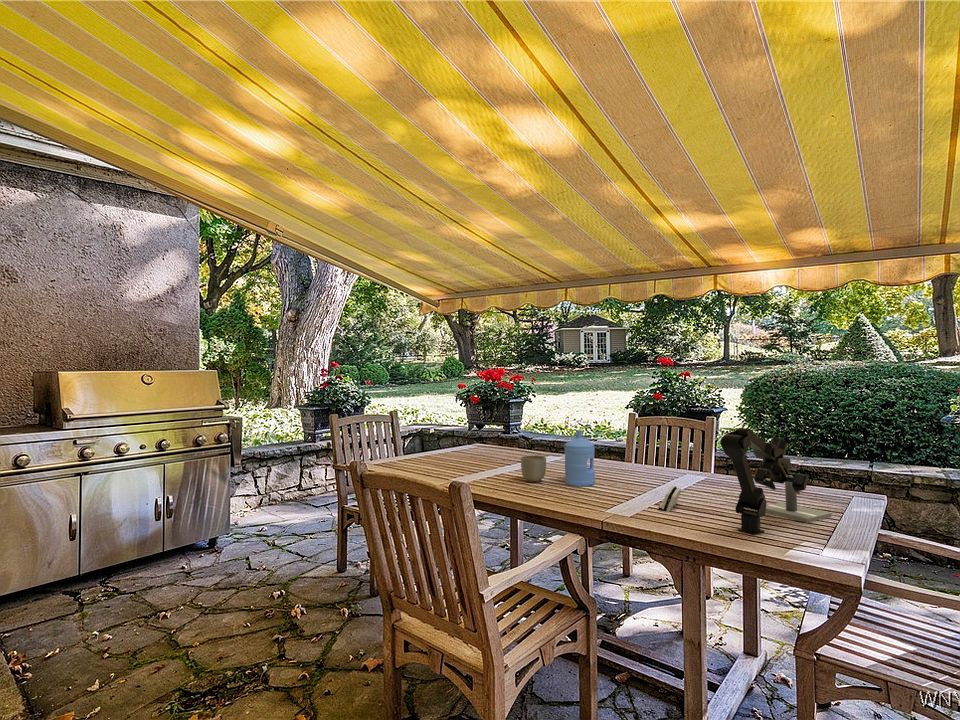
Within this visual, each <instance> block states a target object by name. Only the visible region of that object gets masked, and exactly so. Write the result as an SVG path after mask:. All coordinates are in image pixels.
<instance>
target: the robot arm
mask: <svg viewBox="0 0 960 720" xmlns="http://www.w3.org/2000/svg"><path fill="white" fill-rule="evenodd" d="M719 441H720V446H721V448H722V450H723V453H724V454H725V455H726V456H727V457H728V458H730V459H731V463H732V465H733V468H734V471H735V474H736V478H737V480H738V483H739V486H740V490H741V491H740V493H739V494H738V500H737V503H736V505H735V513H736V514H740V517H741V518H740V519H741V520H740V521H741V522H740V523H741V524H740V525H741V526H740V527H739V528H737V531H739V532H744V533H747V534H751V535H757V534H760V533H761V534H762V533H764V532H765V530H763V529H761V518H762V517H764V516H766V513H767V512H766V505H768V504H767V500H766V495H765V494H764V490H763V488H762V487H757V485H756V484H759V485H760V486H761V485H762V486H764V487H766V488H768V489H770V490H772V491H776V485H775V483H776V484H784V485H785V481H786V482H792V487H793V488H794V489H793V490H794V491H795V492H796V493H797V494H798V495H801V491H806V489H807V485H808V482H809V477H808V475H807V474H803V473H795V475H794V476H793V475H789V474H790V471H789V470H790V468H791V467H792V462H791V459H790V457H784V456H785V454H786V451H787V449H788V442H787V441H785V440H783V439H781V438H780V437H777V436H773V438H772V439H771V442H766V441H764V439H762V438H761V437H760V436H759V435H757V434H756V433H755V431H754V430H753V429H751V428H747V427H738V428H737V429H735V430H733V431H730V432H727V433H725V434H724V435H723V436H722V437H721V438H720V440H719ZM749 447H750V448H751V449H752V450H753V452H752V453H753V455H754V456H755V457H756V458H757V459H762V464H761V467H759V468H757V469H756V471H755V474H754V476H753V475H752V471H751V468H750V465H749V460H748V458H747V452H748V451H749Z"/></svg>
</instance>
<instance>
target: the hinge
mask: <svg viewBox="0 0 960 720" xmlns="http://www.w3.org/2000/svg"><path fill="white" fill-rule="evenodd" d="M681 493H682V489H681V488H680V487H677V486H675V485H671V486H670V487H669V489H668V490H667V492H666V494H665V496H664V499H663V500H662V502H661V503H660V504H659V505H658V507H657V509H659V508H660V509H662V510H666V512H670V511H671V510H672V509H673V508H674V507H675V506H676V504H677V503H678V501H679V498H680V495H681ZM674 505H675V506H674ZM673 506H674V507H673ZM660 509H659V510H660Z"/></svg>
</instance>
